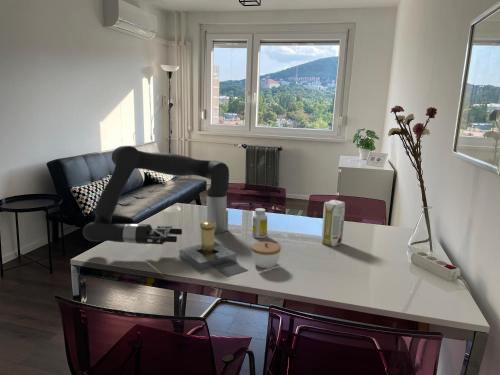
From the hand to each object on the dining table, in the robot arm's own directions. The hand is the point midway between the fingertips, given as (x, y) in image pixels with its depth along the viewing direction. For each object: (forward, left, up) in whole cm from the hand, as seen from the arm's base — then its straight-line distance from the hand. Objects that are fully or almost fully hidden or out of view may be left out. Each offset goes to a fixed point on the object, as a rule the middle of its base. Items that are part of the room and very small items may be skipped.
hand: (179, 235), depth 145 cm
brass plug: (-8, +7, -9) cm, 14 cm away
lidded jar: (-23, +24, -10) cm, 35 cm away
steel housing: (-8, +7, -9) cm, 14 cm away
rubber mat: (-10, +20, -9) cm, 24 cm away
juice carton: (-63, +22, -10) cm, 68 cm away
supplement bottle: (-42, -3, -10) cm, 44 cm away
